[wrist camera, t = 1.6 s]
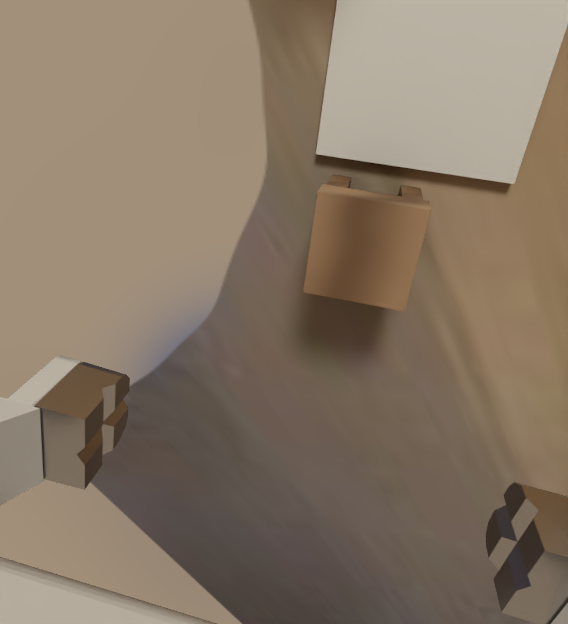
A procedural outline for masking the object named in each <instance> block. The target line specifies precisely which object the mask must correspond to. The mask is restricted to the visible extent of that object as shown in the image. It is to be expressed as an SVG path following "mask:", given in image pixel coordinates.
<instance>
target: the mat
mask: <svg viewBox="0 0 568 624" xmlns="http://www.w3.org/2000/svg"><path fill="white" fill-rule="evenodd" d="M567 25H568V0H337V5H336V12H335V20H334V27H333V34H332V41H331V49H330V56H329V63H328V70H327V78H326V85H325V92H324V99H323V106H322V114H321V121H320V128H319V135H318V143H317V150H316V154H318V155H325V156H332V157H338V158H345V159H351V160H358V161H365V162H371V163H378V164H384V165H391V166H398V167H404V168H411V169H417V170H424V171H431V172H437V173H444V174H450V175H457V176H464V177H470V178H477V179H483V180H490V181H497V182H503V183H510V184H514V183H515V180H516V177H517V174H518V171H519V168H520V165H521V162H522V159H523V156H524V153H525V150H526V147H527V144H528V141H529V138H530V135H531V132H532V129H533V126H534V123H535V120H536V117H537V114H538V111H539V108H540V105H541V102H542V99H543V96H544V93H545V90H546V87H547V84H548V81H549V78H550V75H551V72H552V69H553V66H554V63H555V60H556V57H557V54H558V52H559V49H560V46H561V43H562V40H563V37H564V34H565V31H566V28H567Z"/></svg>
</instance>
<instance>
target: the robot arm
mask: <svg viewBox="0 0 568 624" xmlns="http://www.w3.org/2000/svg"><path fill="white" fill-rule="evenodd" d="M129 380H130V378H129V377H128V376H127V375H126V374H122V373H119V372H116V371H112V370H109V369H106V368H102V367H99V366H96V365H92V364H89V363H86V362H81V361H78V360H75V359H71V358H68V357H64V356H59V357H56V358H54V359H53V360H52V361H51V362H49V363H48V364H47V365H46V366H45V367H43V368H42V369H41V370H40V371H39V372H38V373H36V374H35V375H34V376H33V377H32V378H31V379H30V380H28V381H27V382H26V383H25V384H24V385H23V386H22V387H20V388H19V389H18V390H17V391H16V392H14V394H12V395H11V396H10V397H9V398H8V399H5V398H2V397H0V505H2V504H4V503H6V502H7V501H9V500H11V499H13V498H15V497H16V496H18V495H20V494H22V493H23V492H25V491H27V490H29V489H31V488H32V487H34V486H36V485H38V484H40V483H41V482H43V481H44V479H46V480H50V481H54V482H58V483H61V484H65V485H69V486H73V487H77V488H81V489H85V488H86V487H87V486H88V484H89V483H90V481H91V480H92V479H93V477H94V476H95V474H96V473H97V472H98V470H99V469H100V467H101V466H102V455H103V454H105V453H107V452H109V451H112V450H113V449H114V448H115V446H116V445H117V443H118V442H119V440H120V438H121V436H122V434H123V431H124V429H125V426H126V422H127V418H128V406H127V404H126V403H125V401H124V400H123V399H124V397H125V396H126V395H127V393H128V392H129V384H130V381H129ZM504 498H505V502H506V505H505V506H503V507H501V508H499V509H496V510H494V512H493V514H492V516H491V518H490V520H489V522H488V527H487V532H486V548H487V552H488V557H489V559H490V560H491V561H492V563H493V564H494V565H495V566H496V568H497V569H498V570H499V571H498V573H497V574H496V576H495V577H494V583H495V587H496V592H497V596H498V600H499V604H500V608H501V612H502V613H505V614H508V615H511V616H514V617H517V618H520V619H523V620H527V621H530V622H533V623H536V624H568V496H564V495H560V494H557V493H553V492H549V491H546V490H542V489H538V488H535V487H531V486H527V485H523V484H520V483H516V482H514V483H513V484H512V485H510V486H509V487H508V489H507V490H506V492H505V494H504ZM0 624H216V623H213V622H210V621H207V620H203V619H200V618H196V617H194V616H190V615H187V614H184V613H181V612H177V611H174V610H171V609H168V608H164V607H161V606H158V605H155V604H151V603H148V602H145V601H142V600H138V599H135V598H132V597H129V596H125V595H122V594H119V593H116V592H112V591H109V590H106V589H103V588H99V587H96V586H93V585H90V584H86V583H83V582H80V581H77V580H73V579H70V578H67V577H64V576H60V575H57V574H54V573H51V572H47V571H44V570H41V569H38V568H35V567H31V566H28V565H25V564H22V563H18V562H15V561H12V560H8V559H5V558H2V557H0Z"/></svg>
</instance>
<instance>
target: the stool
mask: <svg viewBox="0 0 568 624" xmlns="http://www.w3.org/2000/svg"><path fill="white" fill-rule="evenodd" d="M350 182H351V177H345V176H338V175H332V177H331V179H330V181H329V182H328V184H327V185H326V184H322V185H321V187H320V189H319V190H318V193H317V200H316V207H315V214H314V221H313V228H312V234H311V241H310V248H309V255H308V262H307V269H306V276H305V283H304V290H303V292H304V293H309V294H315V295H320V296H325V297H331V298H336V299H341V300H347V301H352V302H357V303H363V304H368V305H373V306H379V307H384V308H389V309H395V310H400V311H405V309H406V305H407V301H408V297H409V293H410V290H411V286H412V282H413V278H414V274H415V270H416V267H417V263H418V259H419V255H420V251H421V247H422V244H423V240H424V236H425V232H426V228H427V225H428V221H429V217H430V213H431V207H430V204H429V201H427V200H423V197H422V193H421V189H420V188H415V187H409V186H403V185H401V189H400V193H399V196H395V195H389V194H383V193H376V192H370V191H364V190H357V189H351V188H349V187H350Z"/></svg>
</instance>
